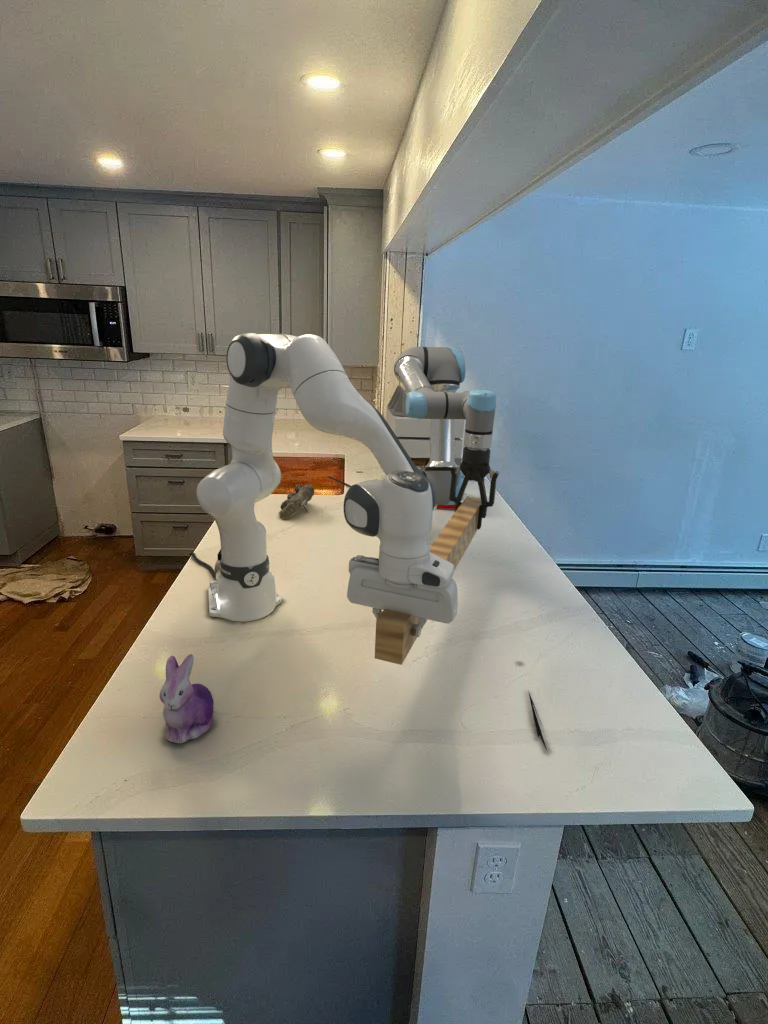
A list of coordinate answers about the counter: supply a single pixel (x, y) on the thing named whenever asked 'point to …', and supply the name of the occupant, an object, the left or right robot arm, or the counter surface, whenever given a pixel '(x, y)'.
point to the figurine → (185, 702)
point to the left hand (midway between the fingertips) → (399, 631)
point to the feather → (536, 721)
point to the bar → (449, 546)
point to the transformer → (416, 430)
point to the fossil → (296, 500)
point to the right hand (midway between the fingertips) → (469, 526)
